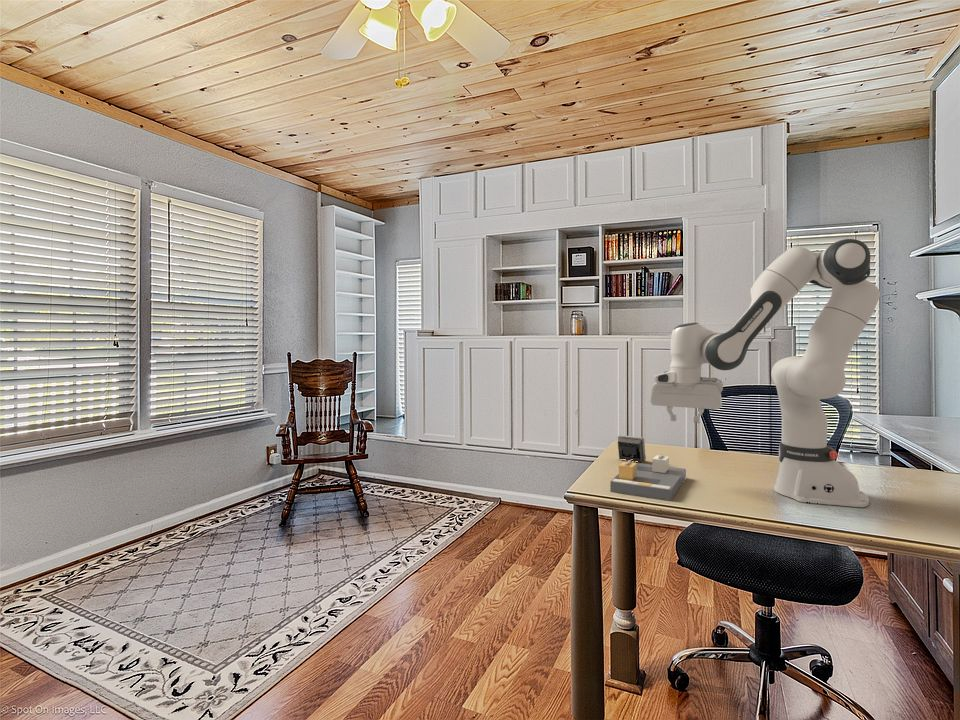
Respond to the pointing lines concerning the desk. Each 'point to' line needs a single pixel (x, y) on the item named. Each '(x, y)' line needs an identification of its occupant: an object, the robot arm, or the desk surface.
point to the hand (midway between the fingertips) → (684, 421)
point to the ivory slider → (660, 464)
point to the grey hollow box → (631, 448)
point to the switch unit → (650, 483)
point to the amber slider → (627, 470)
